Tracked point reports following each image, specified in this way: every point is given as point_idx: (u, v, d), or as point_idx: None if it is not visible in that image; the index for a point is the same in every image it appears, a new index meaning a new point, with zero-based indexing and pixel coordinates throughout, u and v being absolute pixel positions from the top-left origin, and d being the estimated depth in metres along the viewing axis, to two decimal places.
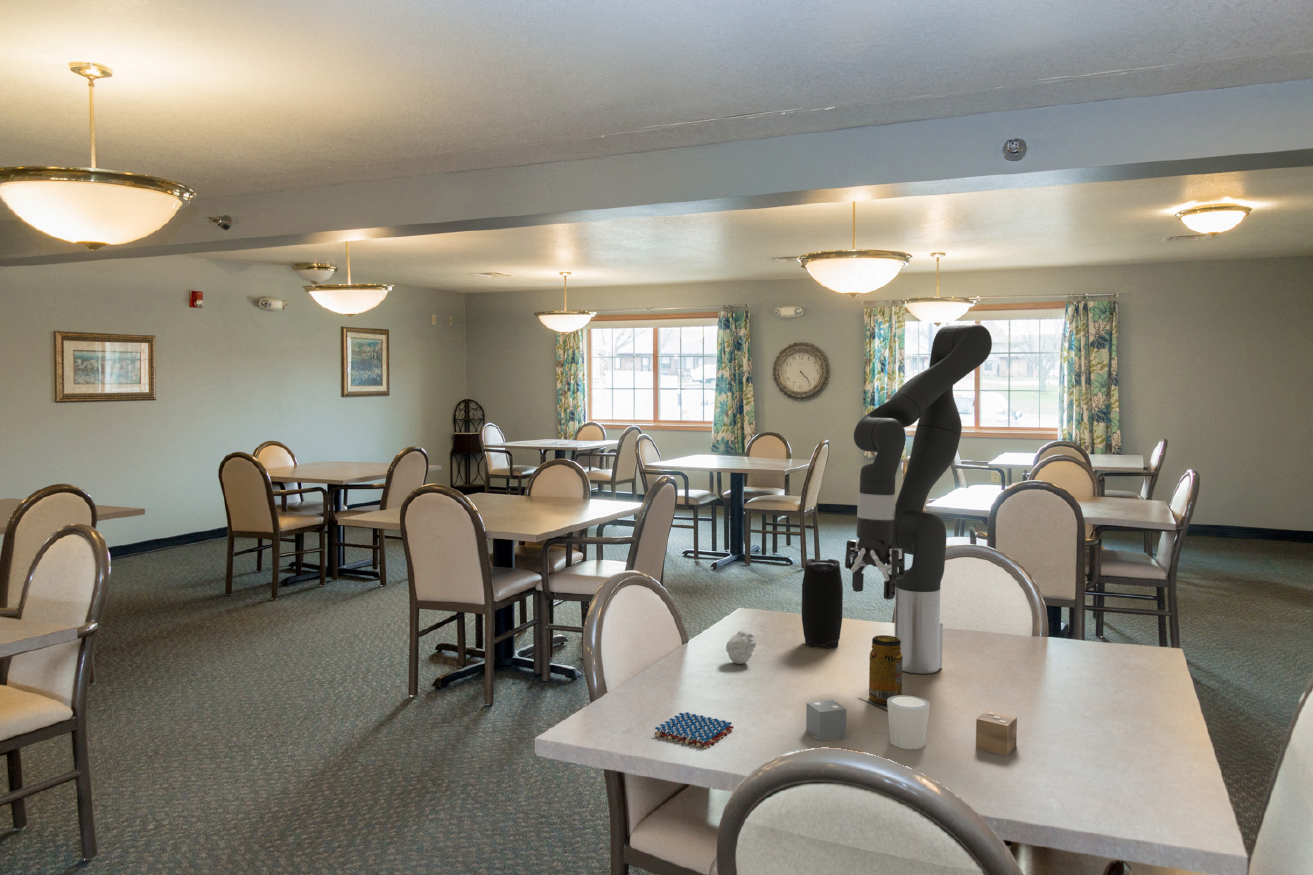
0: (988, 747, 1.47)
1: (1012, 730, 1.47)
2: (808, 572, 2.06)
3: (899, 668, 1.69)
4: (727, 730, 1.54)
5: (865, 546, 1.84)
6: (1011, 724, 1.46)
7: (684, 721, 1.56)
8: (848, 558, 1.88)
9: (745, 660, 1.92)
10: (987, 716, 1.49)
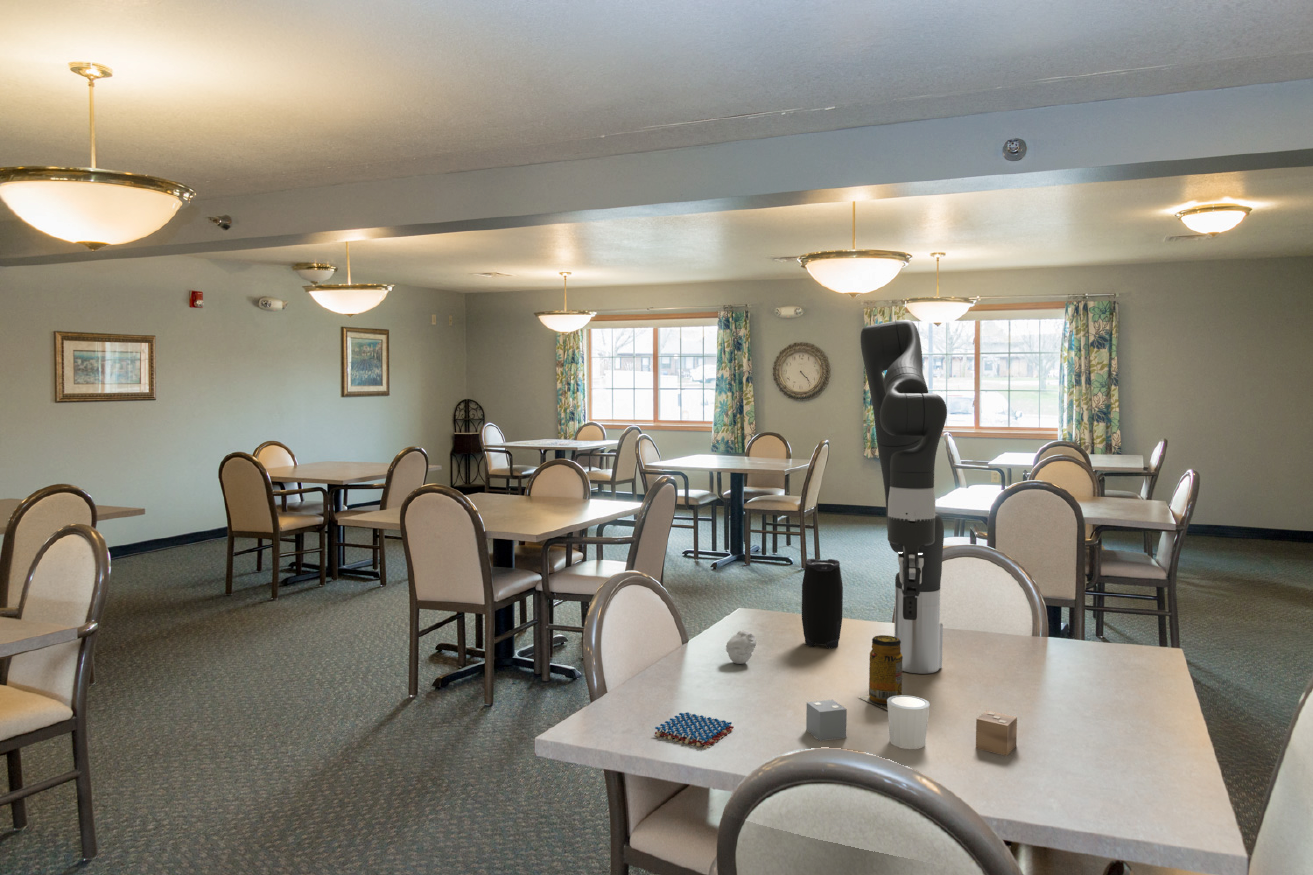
0: (988, 747, 1.47)
1: (1012, 730, 1.47)
2: (808, 572, 2.06)
3: (899, 668, 1.69)
4: (727, 730, 1.54)
5: None
6: (1011, 724, 1.46)
7: (684, 721, 1.56)
8: None
9: (745, 660, 1.92)
10: (987, 716, 1.49)
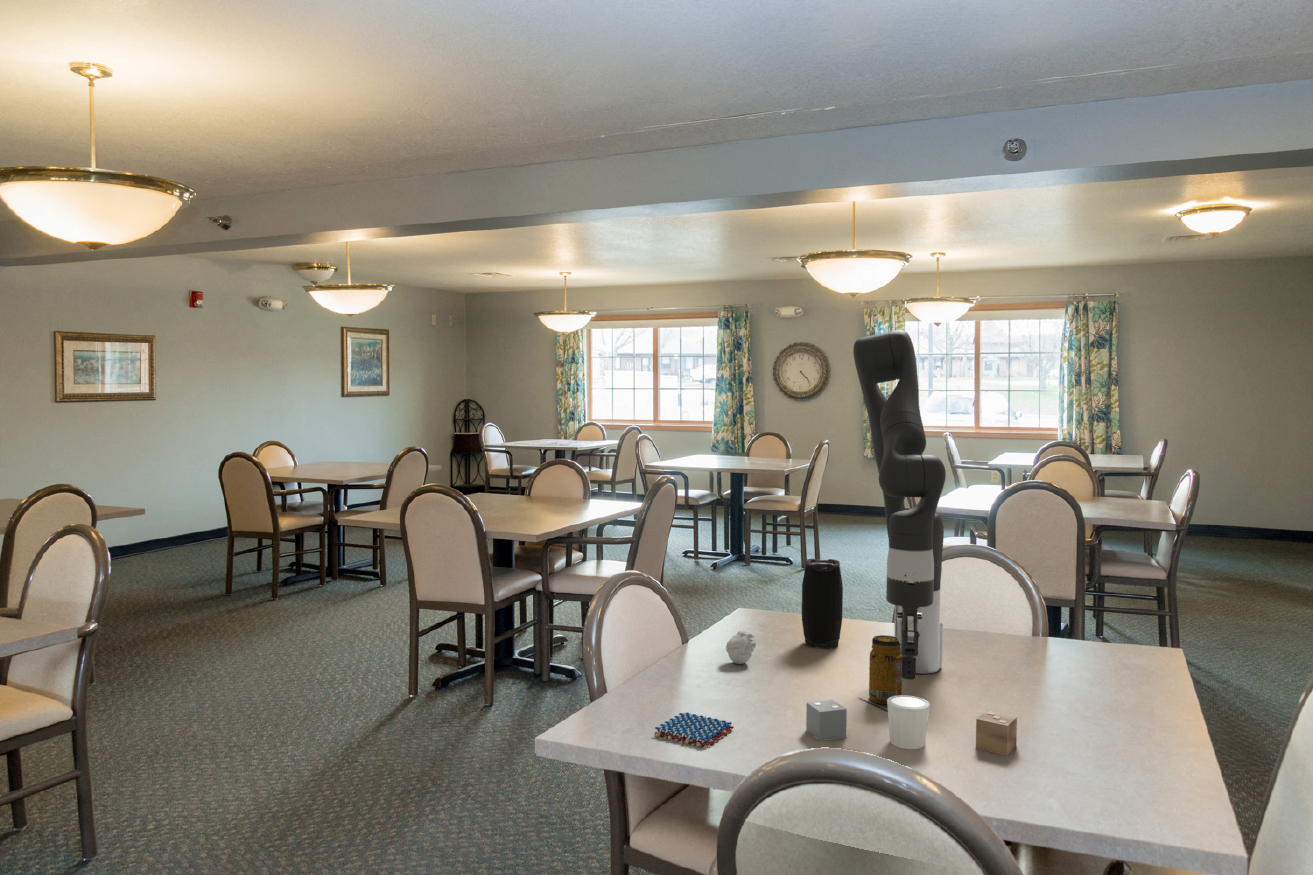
0: (988, 747, 1.47)
1: (1012, 730, 1.47)
2: (808, 572, 2.06)
3: (899, 668, 1.69)
4: (727, 730, 1.54)
5: None
6: (1011, 724, 1.46)
7: (684, 721, 1.56)
8: None
9: (745, 660, 1.92)
10: (987, 716, 1.49)
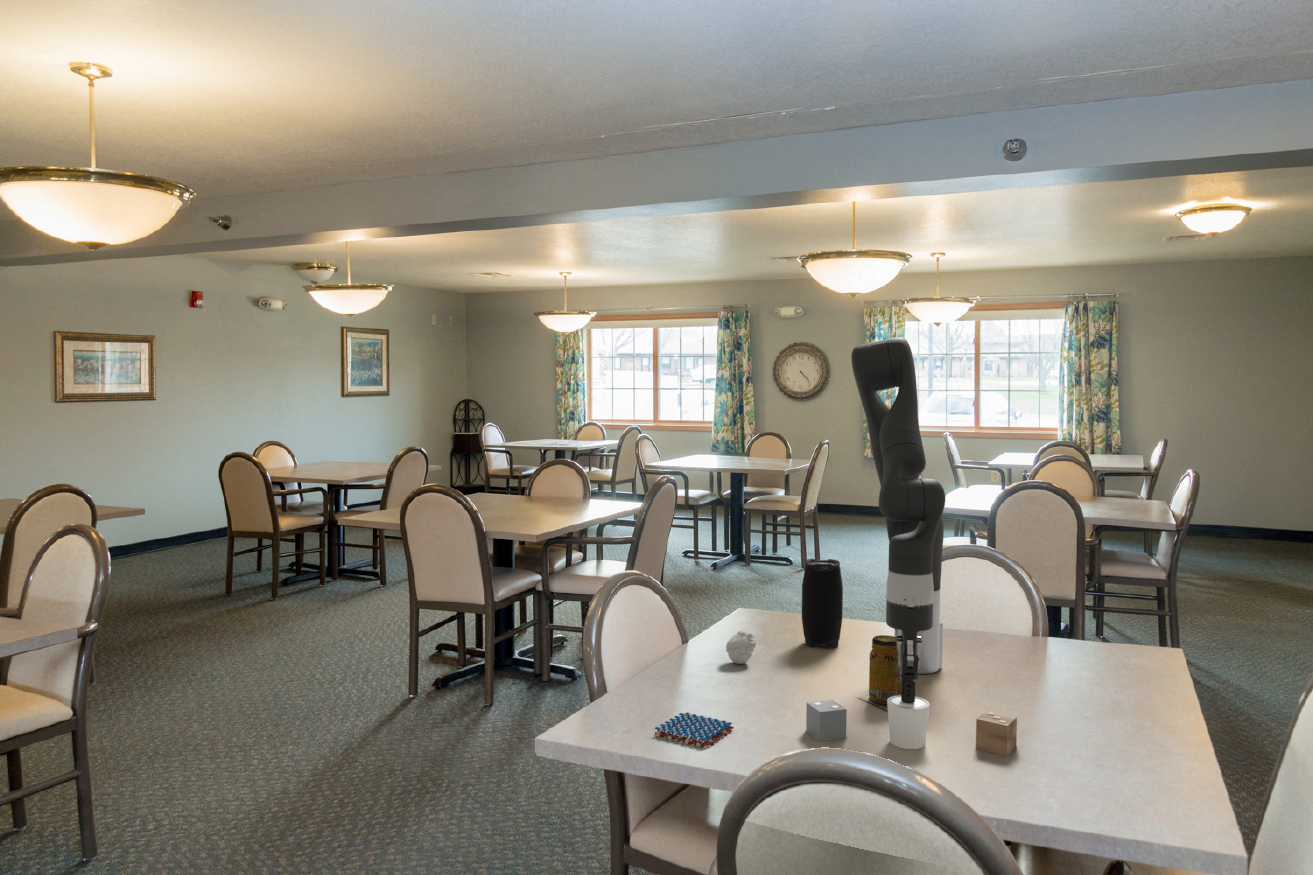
0: (988, 747, 1.47)
1: (1012, 730, 1.47)
2: (808, 572, 2.06)
3: (899, 668, 1.69)
4: (727, 730, 1.54)
5: (916, 639, 1.48)
6: (1011, 724, 1.46)
7: (684, 721, 1.56)
8: None
9: (745, 660, 1.92)
10: (987, 716, 1.49)
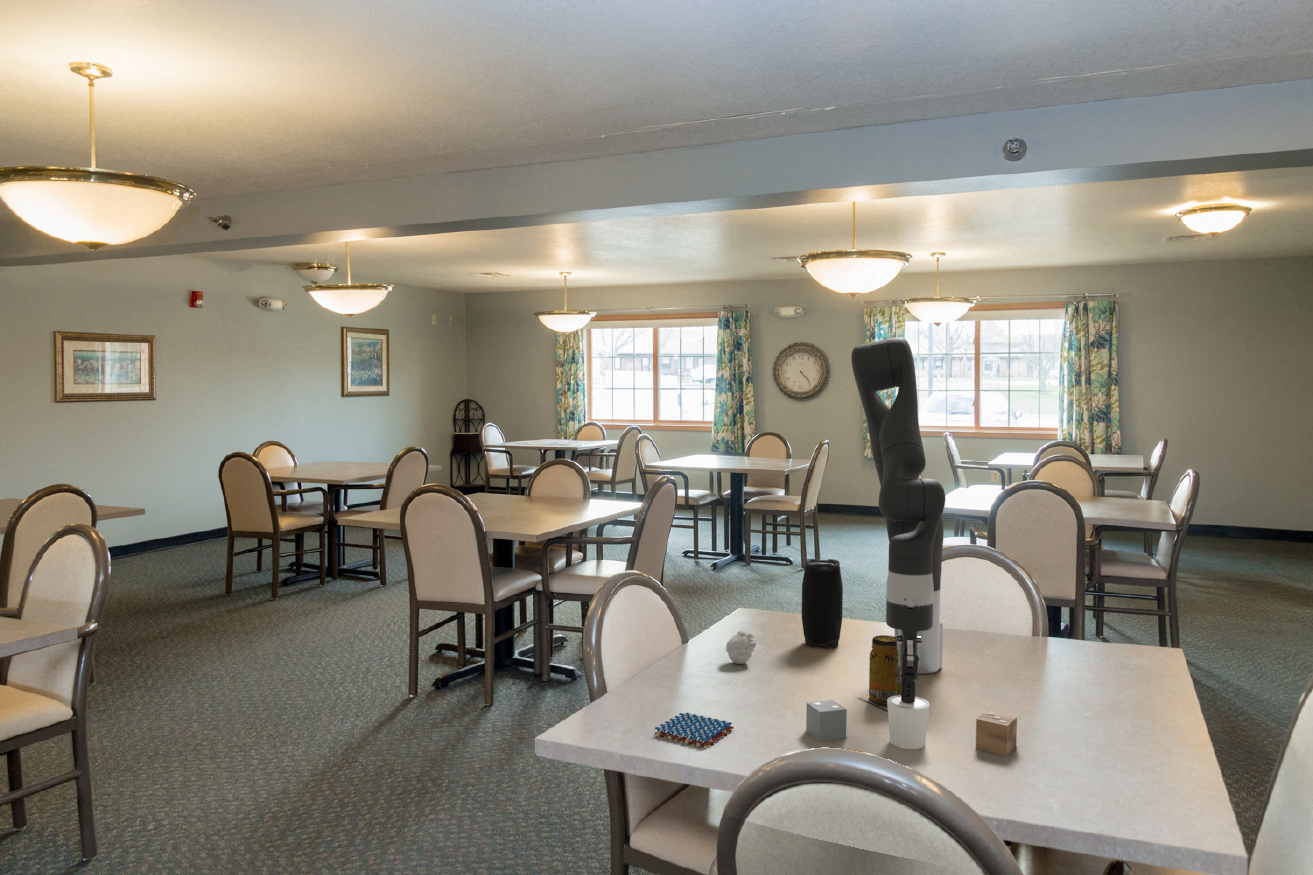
0: (988, 747, 1.47)
1: (1012, 730, 1.47)
2: (808, 572, 2.06)
3: (899, 668, 1.69)
4: (727, 730, 1.54)
5: (916, 639, 1.48)
6: (1011, 724, 1.46)
7: (684, 721, 1.56)
8: None
9: (745, 660, 1.92)
10: (987, 716, 1.49)
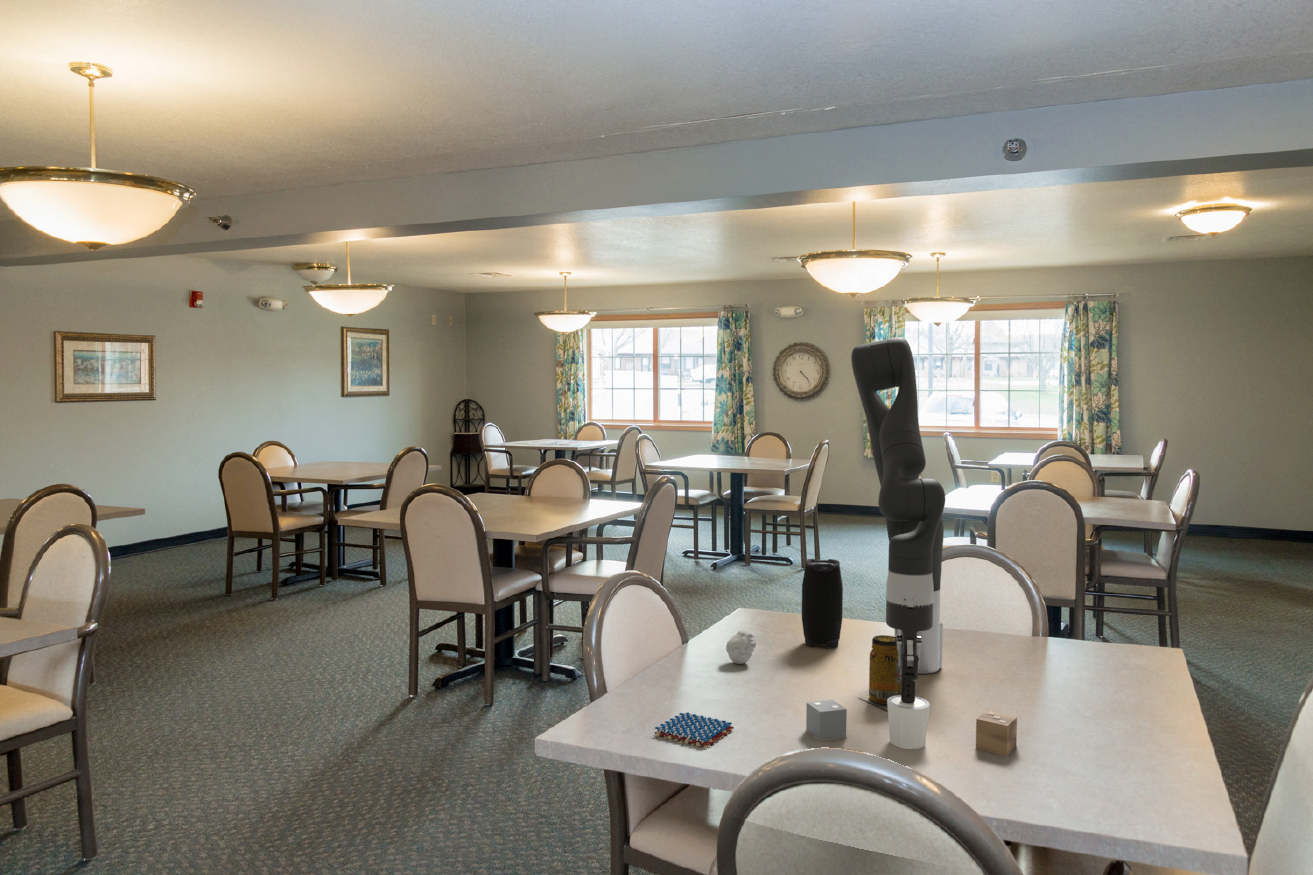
0: (988, 747, 1.47)
1: (1012, 730, 1.47)
2: (808, 572, 2.06)
3: (899, 668, 1.69)
4: (727, 730, 1.54)
5: (916, 639, 1.48)
6: (1011, 724, 1.46)
7: (684, 721, 1.56)
8: None
9: (745, 660, 1.92)
10: (987, 716, 1.49)
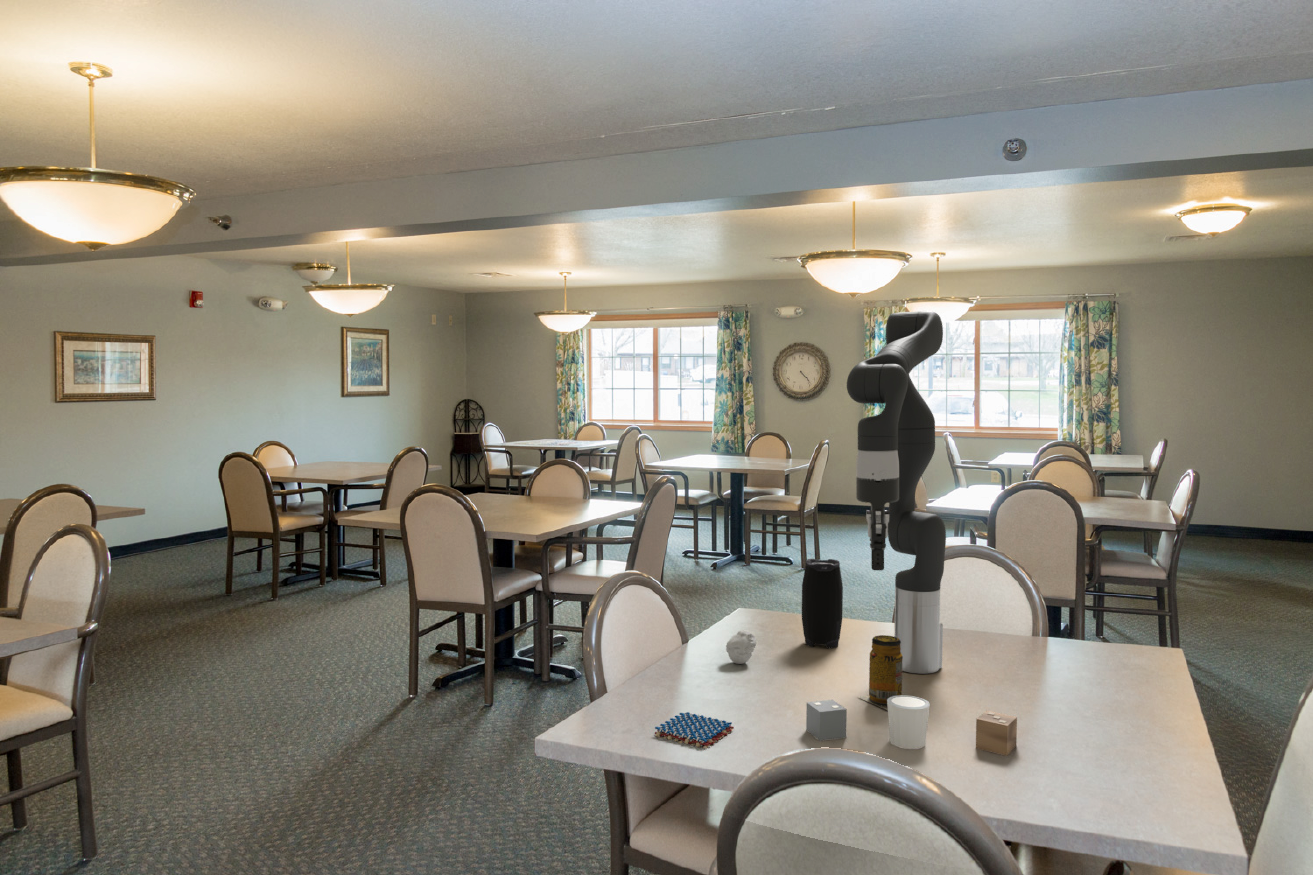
0: (988, 747, 1.47)
1: (1012, 730, 1.47)
2: (808, 572, 2.06)
3: (899, 668, 1.69)
4: (727, 730, 1.54)
5: None
6: (1011, 724, 1.46)
7: (684, 721, 1.56)
8: None
9: (745, 660, 1.92)
10: (987, 716, 1.49)
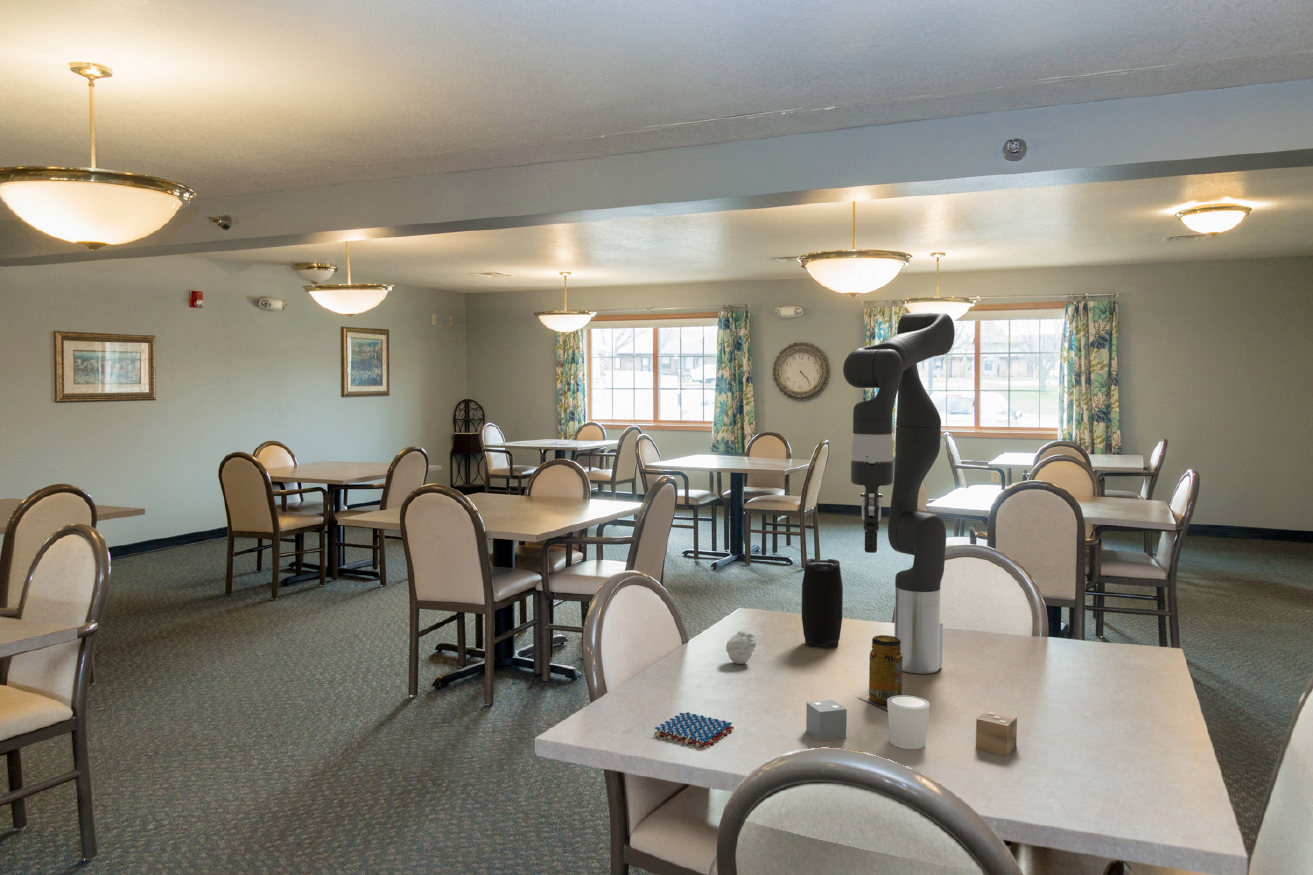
0: (988, 747, 1.47)
1: (1012, 730, 1.47)
2: (808, 572, 2.06)
3: (899, 668, 1.69)
4: (727, 730, 1.54)
5: (877, 494, 1.64)
6: (1011, 724, 1.46)
7: (684, 721, 1.56)
8: None
9: (745, 660, 1.92)
10: (987, 716, 1.49)
